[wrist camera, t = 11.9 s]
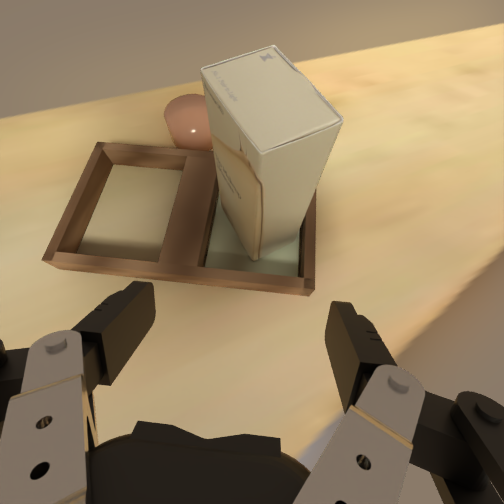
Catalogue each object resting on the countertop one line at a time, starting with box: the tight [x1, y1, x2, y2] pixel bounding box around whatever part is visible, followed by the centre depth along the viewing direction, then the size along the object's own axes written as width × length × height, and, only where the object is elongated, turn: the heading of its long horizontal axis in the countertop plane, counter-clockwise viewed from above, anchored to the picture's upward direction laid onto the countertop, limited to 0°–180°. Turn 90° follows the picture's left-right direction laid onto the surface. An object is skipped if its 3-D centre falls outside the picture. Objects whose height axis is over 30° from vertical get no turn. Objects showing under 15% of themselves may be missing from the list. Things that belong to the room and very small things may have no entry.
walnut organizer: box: [42, 142, 316, 296], centre depth 22 cm, size 21×12×2 cm, turn 84°
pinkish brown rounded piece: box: [164, 94, 213, 151], centre depth 26 cm, size 5×5×3 cm
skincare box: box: [201, 45, 343, 261], centre depth 17 cm, size 6×4×12 cm
